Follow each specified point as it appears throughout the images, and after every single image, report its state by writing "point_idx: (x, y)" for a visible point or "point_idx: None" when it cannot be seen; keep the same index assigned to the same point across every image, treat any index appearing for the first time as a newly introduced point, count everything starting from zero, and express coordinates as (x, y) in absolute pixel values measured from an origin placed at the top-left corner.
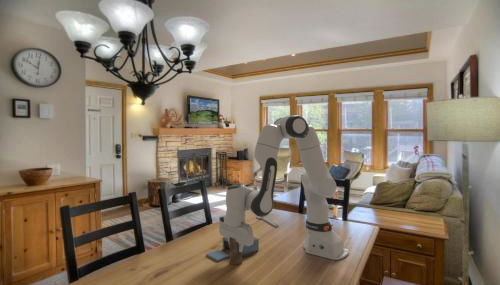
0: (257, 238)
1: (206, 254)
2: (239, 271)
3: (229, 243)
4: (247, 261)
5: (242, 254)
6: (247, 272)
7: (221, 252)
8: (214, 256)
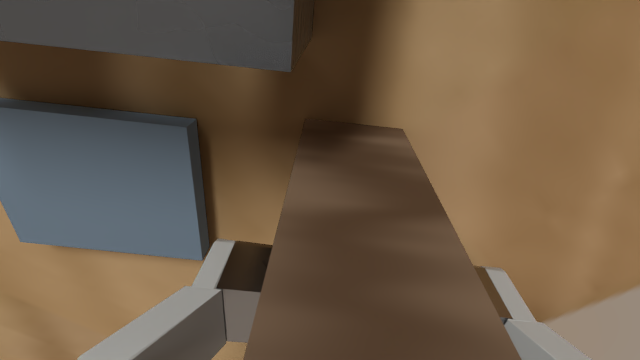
0: None
1: (28, 239)
2: (473, 253)
3: (201, 355)
4: (437, 60)
5: (310, 11)
6: (548, 230)
7: (60, 130)
8: (118, 234)
